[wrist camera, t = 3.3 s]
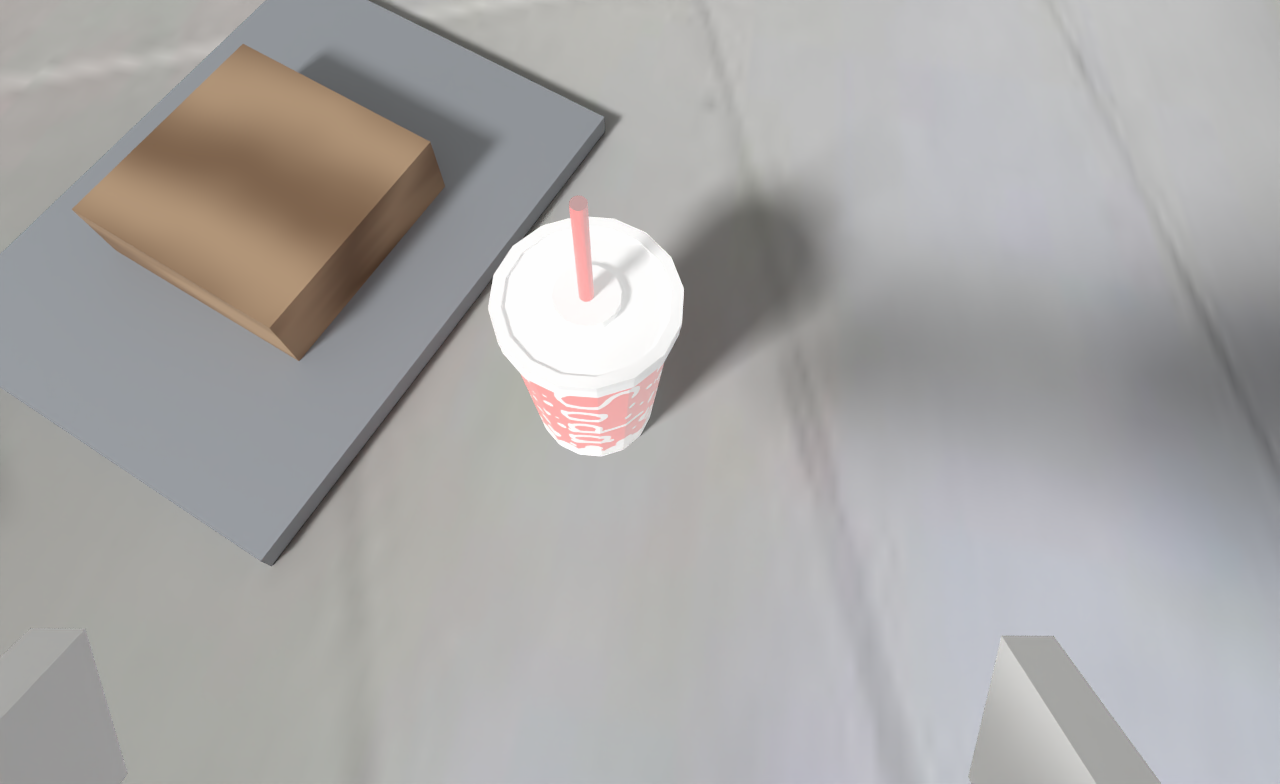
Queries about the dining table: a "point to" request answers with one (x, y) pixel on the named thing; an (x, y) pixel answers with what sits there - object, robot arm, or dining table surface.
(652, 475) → the dining table surface
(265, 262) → the walnut pedestal
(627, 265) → the beverage cup
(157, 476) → the base board
